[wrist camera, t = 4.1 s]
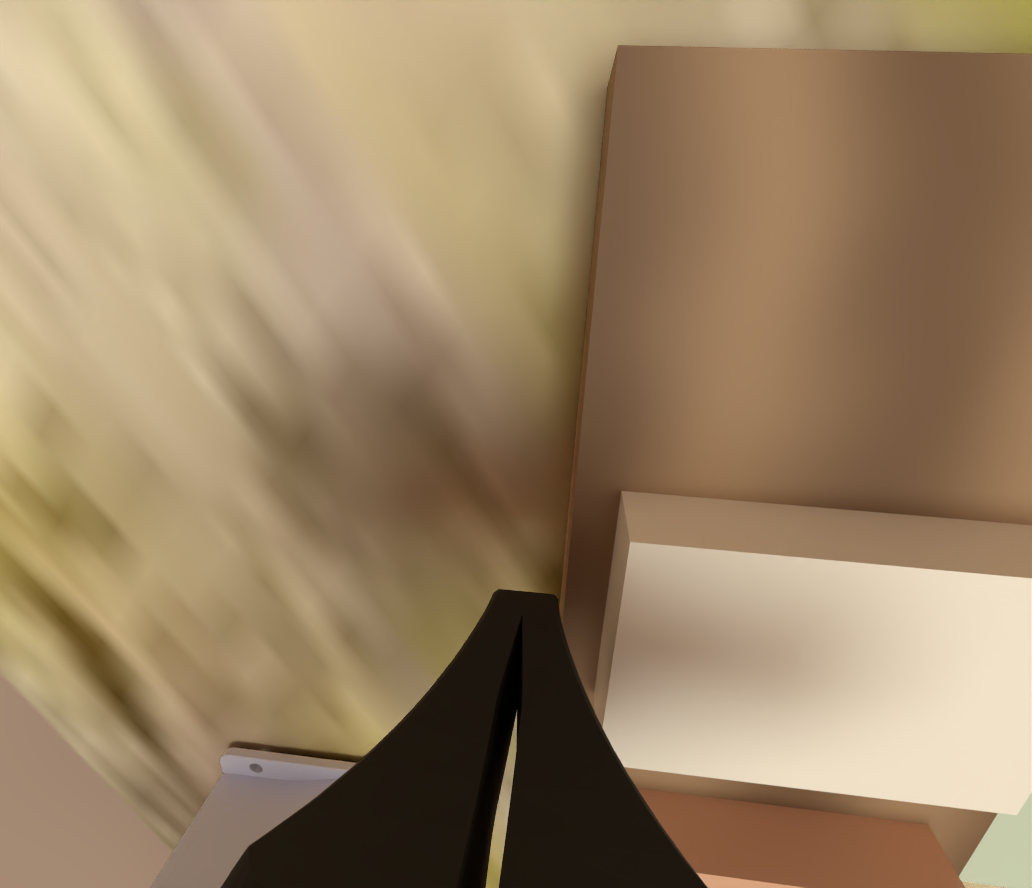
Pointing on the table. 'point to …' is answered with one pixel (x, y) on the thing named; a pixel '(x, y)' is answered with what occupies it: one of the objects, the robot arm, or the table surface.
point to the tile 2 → (798, 846)
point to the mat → (1004, 852)
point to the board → (805, 313)
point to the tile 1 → (821, 650)
